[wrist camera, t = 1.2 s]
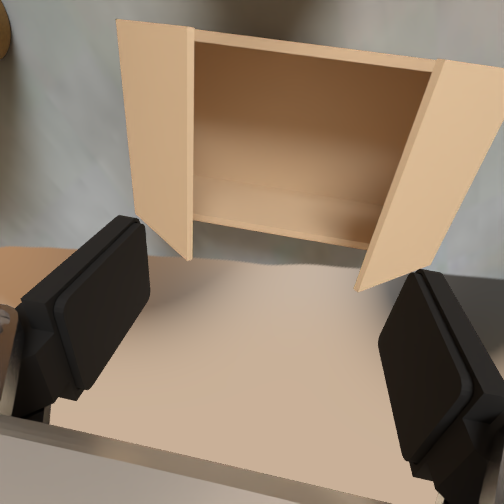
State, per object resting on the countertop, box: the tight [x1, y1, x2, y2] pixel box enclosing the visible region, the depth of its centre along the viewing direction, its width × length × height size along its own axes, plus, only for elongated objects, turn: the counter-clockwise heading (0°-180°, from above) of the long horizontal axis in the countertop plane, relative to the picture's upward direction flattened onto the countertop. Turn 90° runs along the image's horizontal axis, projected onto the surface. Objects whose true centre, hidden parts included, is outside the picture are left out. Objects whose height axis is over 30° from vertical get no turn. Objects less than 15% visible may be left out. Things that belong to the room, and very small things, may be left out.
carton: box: [193, 29, 436, 250], centre depth 26 cm, size 24×13×9 cm, turn 83°
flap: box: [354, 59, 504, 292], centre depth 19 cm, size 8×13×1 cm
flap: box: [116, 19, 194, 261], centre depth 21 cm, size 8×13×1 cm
